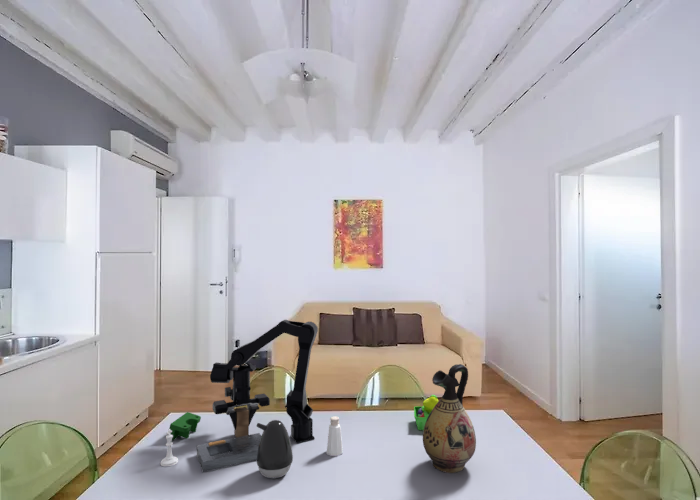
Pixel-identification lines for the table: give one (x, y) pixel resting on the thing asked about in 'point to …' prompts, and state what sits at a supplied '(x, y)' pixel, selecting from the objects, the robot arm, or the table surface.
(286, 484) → the table surface
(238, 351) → the robot arm
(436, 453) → the ceramic jug
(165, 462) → the chess piece
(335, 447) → the pepper shaker
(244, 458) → the grey peg hole board
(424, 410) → the fruit basket
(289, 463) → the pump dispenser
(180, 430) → the clamp
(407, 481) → the table surface
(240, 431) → the walnut peg
